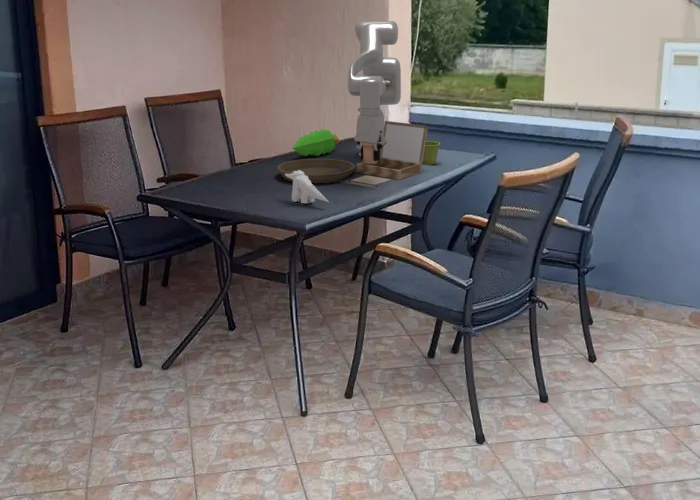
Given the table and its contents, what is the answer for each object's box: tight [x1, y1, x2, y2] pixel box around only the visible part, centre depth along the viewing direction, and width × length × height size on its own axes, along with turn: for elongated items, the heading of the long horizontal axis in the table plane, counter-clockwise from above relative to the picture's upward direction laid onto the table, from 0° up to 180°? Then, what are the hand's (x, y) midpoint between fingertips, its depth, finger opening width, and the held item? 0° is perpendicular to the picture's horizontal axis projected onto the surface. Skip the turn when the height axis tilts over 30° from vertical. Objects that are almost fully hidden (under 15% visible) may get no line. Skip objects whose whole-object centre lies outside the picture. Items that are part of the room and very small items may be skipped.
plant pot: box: [420, 140, 441, 166], centre depth 366 cm, size 9×9×9 cm
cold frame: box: [355, 157, 423, 181], centre depth 348 cm, size 21×15×4 cm
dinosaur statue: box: [285, 170, 330, 204], centre depth 307 cm, size 7×24×11 cm, turn 43°
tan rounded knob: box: [362, 142, 378, 164], centre depth 334 cm, size 6×6×8 cm
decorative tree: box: [292, 129, 340, 157], centre depth 383 cm, size 11×12×30 cm
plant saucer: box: [276, 158, 356, 185], centre depth 348 cm, size 31×31×5 cm
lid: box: [380, 120, 429, 164], centre depth 352 cm, size 21×15×1 cm
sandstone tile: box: [350, 174, 392, 188], centre depth 337 cm, size 12×10×1 cm
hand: (370, 159), depth 334 cm, fingers closed on tan rounded knob, 5 cm apart
